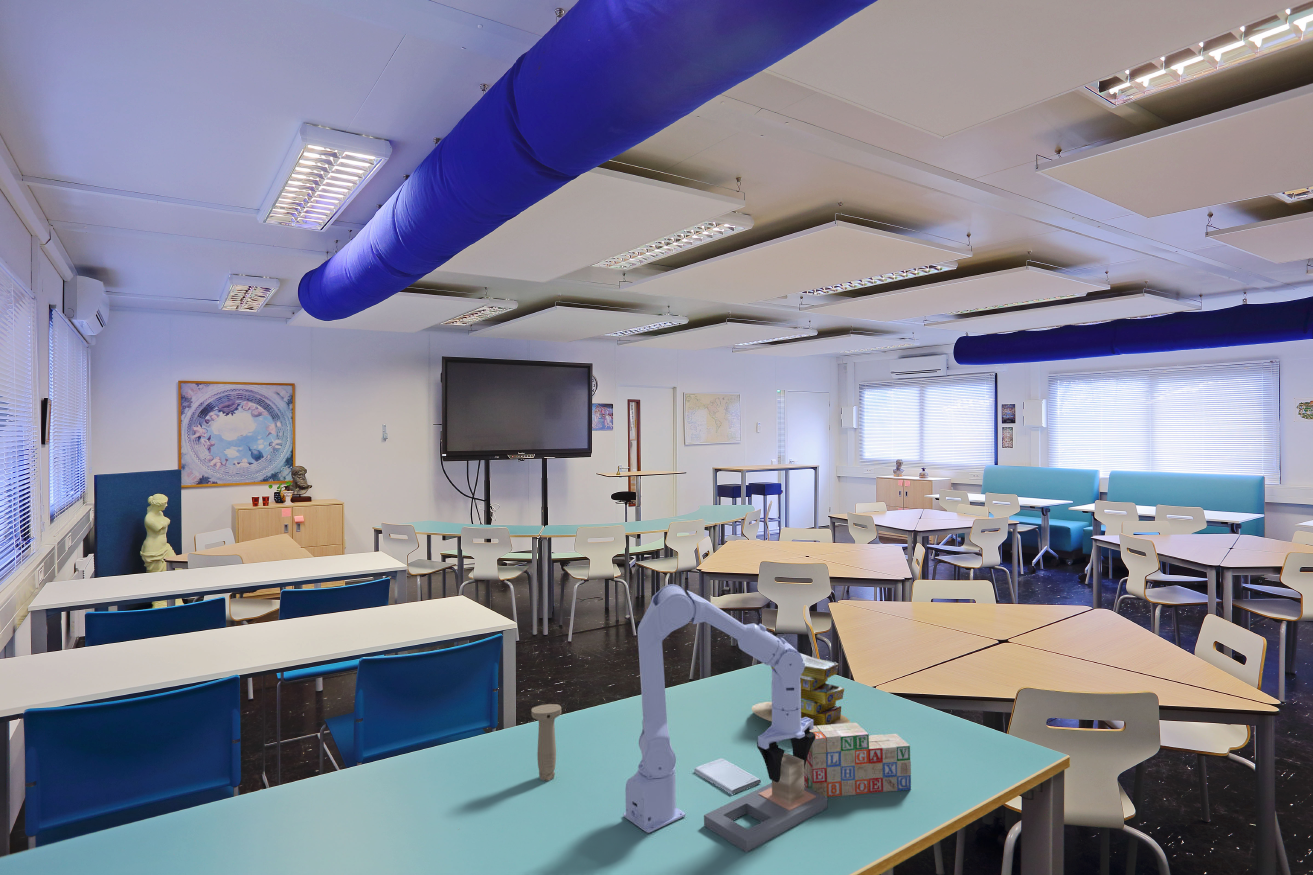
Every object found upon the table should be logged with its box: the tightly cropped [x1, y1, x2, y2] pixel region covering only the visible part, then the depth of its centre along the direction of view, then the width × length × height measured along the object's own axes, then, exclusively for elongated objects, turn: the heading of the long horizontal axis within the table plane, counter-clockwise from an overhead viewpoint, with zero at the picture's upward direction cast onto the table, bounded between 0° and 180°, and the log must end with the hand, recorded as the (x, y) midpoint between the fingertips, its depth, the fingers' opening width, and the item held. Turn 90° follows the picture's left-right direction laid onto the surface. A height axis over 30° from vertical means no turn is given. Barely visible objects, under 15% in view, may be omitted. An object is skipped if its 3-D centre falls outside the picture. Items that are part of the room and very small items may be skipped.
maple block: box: [771, 752, 805, 803], centre depth 136 cm, size 4×4×7 cm
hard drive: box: [694, 758, 762, 795], centre depth 148 cm, size 2×8×12 cm
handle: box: [530, 703, 562, 782], centre depth 148 cm, size 5×6×15 cm
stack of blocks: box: [804, 722, 912, 798], centre depth 143 cm, size 21×6×12 cm, turn 97°
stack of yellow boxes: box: [751, 652, 851, 726], centre depth 177 cm, size 25×25×17 cm
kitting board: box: [703, 782, 828, 853], centre depth 132 cm, size 23×11×2 cm, turn 129°
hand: (787, 773), depth 136 cm, fingers open, 7 cm apart
